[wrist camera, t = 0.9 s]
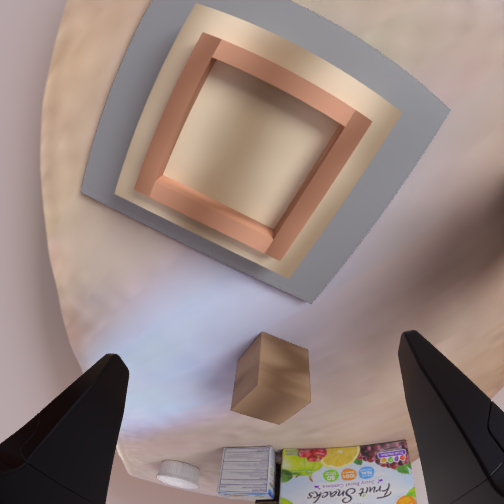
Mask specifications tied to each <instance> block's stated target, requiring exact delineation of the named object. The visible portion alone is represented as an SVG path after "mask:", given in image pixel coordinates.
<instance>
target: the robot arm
mask: <svg viewBox="0 0 504 504" xmlns="http://www.w3.org/2000/svg"><path fill="white" fill-rule="evenodd" d="M398 357H399V363H400V368H401V374H402V380H403V386H404V392H405V398H406V403H407V407H408V411H409V415H410V419H411V423H412V426H413V430H414V435H415V439H416V443H417V447H418V452H419V456H420V461H421V465H422V470H423V475H424V480H425V485H426V491H427V496H428V502H429V504H504V412H503V411H502V410H501V409H500V408H499V407H498V406H497V405H496V404H495V403H494V402H493V401H492V402H491V399H490V398H489V397H488V396H487V395H486V394H484V393H483V392H482V391H481V390H480V389H479V388H478V387H477V386H476V385H475V384H474V383H473V382H472V381H471V380H470V379H469V378H468V377H467V376H466V375H465V374H463V373H462V372H461V371H460V370H459V369H458V368H457V367H456V366H455V365H454V364H453V363H452V362H451V361H449V360H448V359H447V358H446V357H445V356H444V355H443V354H442V353H441V352H440V351H439V350H437V349H436V348H435V347H434V346H433V345H432V344H431V343H430V342H429V341H427V340H426V339H425V338H424V337H423V336H422V335H421V334H420V333H418V332H417V331H416V330H411V331H406V332H403V333H402V335H401V339H400V345H399V350H398ZM128 380H129V370H128V368H127V366H126V365H125V363H124V362H123V361H122V359H121V358H120V356H119V355H117V354H106V355H105V356H103V357H102V358H101V359H100V360H99V361H98V362H96V363H95V364H94V365H93V366H92V367H91V368H90V369H88V370H87V371H86V372H85V373H84V374H83V375H81V376H80V377H79V378H78V379H77V380H76V381H75V382H73V383H72V384H71V385H70V386H69V387H68V388H67V389H65V390H64V391H63V392H62V393H61V394H60V395H59V396H57V397H56V398H55V399H54V400H53V401H52V402H51V403H49V404H48V405H47V406H46V407H45V408H44V409H43V410H42V411H41V412H40V413H38V414H37V415H36V416H35V417H34V418H32V419H31V420H30V421H29V422H28V423H27V424H25V425H24V426H23V427H22V428H20V429H19V430H18V431H17V432H15V433H14V434H13V435H11V436H10V437H9V438H7V439H6V440H5V441H3V442H2V443H1V444H0V504H105V503H106V496H107V491H108V486H109V480H110V475H111V469H112V464H113V458H114V454H115V450H116V445H117V440H118V436H119V431H120V427H121V423H122V418H123V414H124V408H125V401H126V393H127V387H128Z"/></svg>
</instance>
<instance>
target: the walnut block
mask: <svg viewBox="0 0 504 504" xmlns="http://www.w3.org/2000/svg"><path fill="white" fill-rule="evenodd" d="M310 402H311V391H310V373H309V356H308V350H307V349H305V348H302V347H299V346H297V345H294V344H292V343H289V342H287V341H284V340H282V339H279V338H277V337H274V336H272V335H269V334H267V333H264V332H261V333H260V335H259V336H258V337H257V338H256V339H255V341H254V342H253V343H252V344H251V346H250V347H249V348H248V349H247V350H246V352H245V353H244V354H243V355H242V356H241V357H240V359H239V360H238V363H237V370H236V377H235V384H234V390H233V397H232V404H231V411H234V412H237V413H240V414H244V415H247V416H250V417H254V418H257V419H261V420H264V421H268V422H271V423H275V424H279V425H280V424H281V423H282V422H284V421H285V420H287V419H288V418H290V417H291V416H292V415H294V414H295V413H297V412H298V411H299V410H301V409H302V408H303V407H305V406H306V405H307V404H309V403H310Z"/></svg>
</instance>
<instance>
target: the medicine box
mask: <svg viewBox="0 0 504 504" xmlns="http://www.w3.org/2000/svg"><path fill="white" fill-rule="evenodd" d="M275 474H276V454H275V452H274V451H273V449H272V447H271V446H265V447H241V448H224V449H223V456H222V463H221V469H220V475H219V482H218V488H217V492H218V493H219V494H221V495H222V496H224V497H225V498H228V499H252V500H255V499H256V500H259V499H274V493H275Z"/></svg>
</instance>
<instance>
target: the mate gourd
mask: <svg viewBox="0 0 504 504" xmlns="http://www.w3.org/2000/svg"><path fill="white" fill-rule="evenodd" d="M280 481H281V465H276V474H275V493H274V499H259V500H256V502H255V503H256V504H279V499H280Z"/></svg>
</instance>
